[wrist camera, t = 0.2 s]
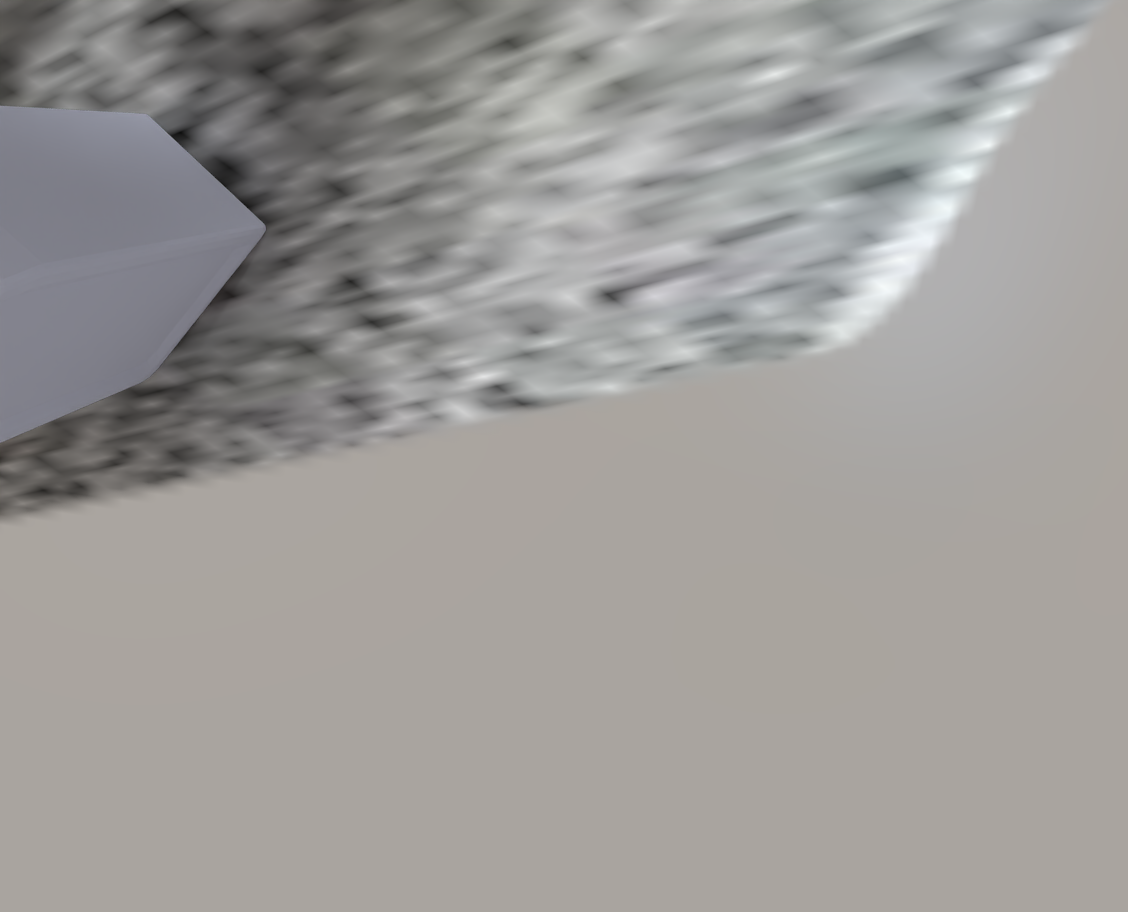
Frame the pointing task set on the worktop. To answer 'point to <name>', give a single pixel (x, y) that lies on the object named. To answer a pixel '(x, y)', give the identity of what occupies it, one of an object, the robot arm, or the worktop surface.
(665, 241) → the worktop surface
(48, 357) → the soap bottle
